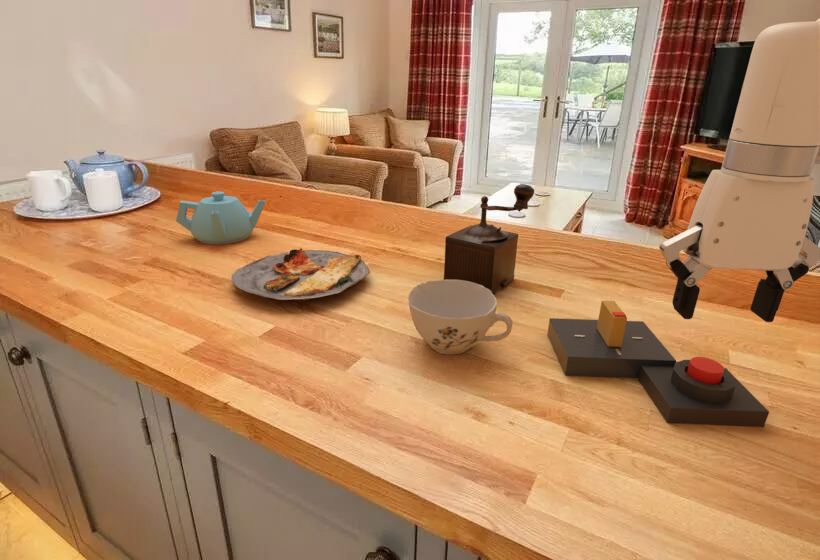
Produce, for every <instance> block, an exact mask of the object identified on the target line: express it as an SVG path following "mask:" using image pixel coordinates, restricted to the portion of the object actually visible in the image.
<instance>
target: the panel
mask: <svg viewBox="0 0 820 560" xmlns="http://www.w3.org/2000/svg"><path fill="white" fill-rule="evenodd" d="M597 324H598V319H582V318H560V317H559V318H557V317H556V318H554V317H549V322H548V328H547V335H546V336H547V339H548V340H549V342H550V344H551V347H552V349H553V352H554V354H555V356H556V359H557V360H558V363H559V365H560V368H561V369H562V373H563V374H564V376H565V377H585V378H586V377H587V378H588V377H589V378H613V379H614V378H615V379H637V380H638V374H639V370H640V366H641V365H656V366H674V365H675V363H676V362H677V359H676V358H675V356H673V354H672V353H671V352H670V351H669V350H668V349H667V347H666V346H665V345H664V344H663V343H662V342H661V340H660V339H659V338H658V337H657V336H656V335H655V333H653V331H652V330H651V329H650V327H648V325H647V324H646V323H645V321H641V320H627V322H626V327H625V331H624V336H623V341H622V345H621V347H609V346H607V344H606V342H605V341H604V339H603V338H602V336H601V334H600V333H599V331H598V330H597Z"/></svg>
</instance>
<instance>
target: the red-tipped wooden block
mask: <svg viewBox="0 0 820 560" xmlns="http://www.w3.org/2000/svg"><path fill="white" fill-rule="evenodd" d="M599 308H600V309H599V314H598V318H597V320H598V324H597V330H598V331H599V333H600V334H601V336H602V338H603V339H604V341H605V342H606V344H607V346H609V347H621V345H622V341H623V336H624V331H625V327H626V322H627V321H628V317H627V314H626V313H625V311H623V310H622V308H621V307H620V306H619V305H618V303H616V301H615V300H601V303H600V307H599Z"/></svg>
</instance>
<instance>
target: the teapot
mask: <svg viewBox="0 0 820 560" xmlns="http://www.w3.org/2000/svg"><path fill="white" fill-rule="evenodd" d="M265 204H266V200H264V199H263V200H262V199H258V201H257V202H256V204H255V206H254V208H253V209H252V211H251V212H249V210H248V209H247V208H246V206H245V205H244V204H243V203H242V201H240V199H239V198H238V197H236V196H231V195H226V194H225V192H224V191H213V192H211V196H208V197H204V198H202V199H200V200H199V202H196V201H188V200H180V202H179V204H178V209H177V214H176V219H175V223H177V224H179V225H180V226H181V227H183V228H185V229H186V230H187V231H189V232H190V234H191V235H192V237H193V238H195V240H197V241H198V242H199V243H202V244H204V245H209V246H210V245H211V246H212V245H213V246H221V245H231V244H237V243H240V242H243V241H245V240H247V239H248V238H249V237H250V235H251V234H252V233H253V231H254V229H255V228H256V226H257V225H258V222H259V220H260V217H261V214H262V212H263V209H264V207H265V206H266V205H265ZM188 209H191V210H194V211H193V214H192V217H191V218H189V217H188V216H187V215H188Z"/></svg>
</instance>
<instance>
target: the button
mask: <svg viewBox="0 0 820 560" xmlns="http://www.w3.org/2000/svg"><path fill="white" fill-rule="evenodd" d="M689 360H690V362H689V366H688V370H687V374H688V376H689V377H691V378H693V379H695V380H697V381H699V382H703V383H706V384H719V383H720V382H721V379H722V376H723V373H724V368H725V367H724V365H722V364H721V363H720V362H718V361H717V360H714V359H713V358H709V357H705V356H694V357H691V358H690V359H689Z"/></svg>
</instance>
